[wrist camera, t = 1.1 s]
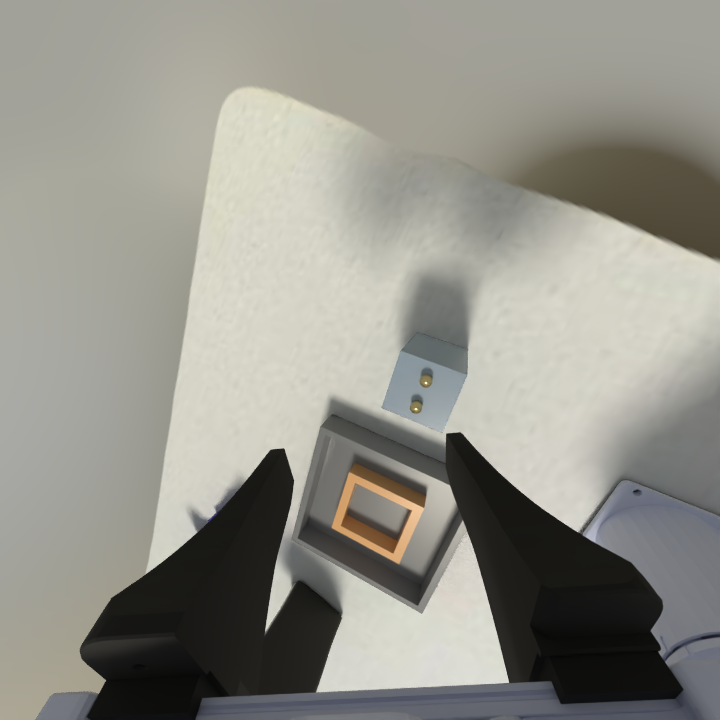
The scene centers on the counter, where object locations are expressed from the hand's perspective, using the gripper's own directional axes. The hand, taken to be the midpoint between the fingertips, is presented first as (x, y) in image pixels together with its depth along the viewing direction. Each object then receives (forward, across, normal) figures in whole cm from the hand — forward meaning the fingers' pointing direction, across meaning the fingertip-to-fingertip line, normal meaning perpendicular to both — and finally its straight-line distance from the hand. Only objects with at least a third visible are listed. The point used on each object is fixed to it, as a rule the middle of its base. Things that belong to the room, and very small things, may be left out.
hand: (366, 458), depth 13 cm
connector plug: (+11, -5, +2) cm, 13 cm away
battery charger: (+9, +9, +31) cm, 34 cm away
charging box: (+10, 0, +16) cm, 18 cm away
